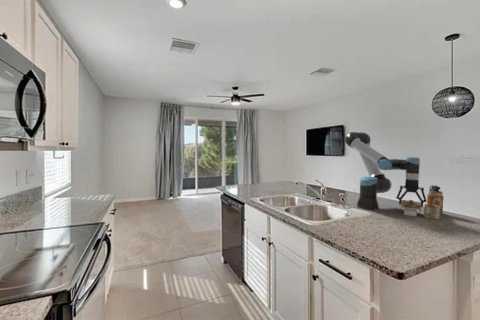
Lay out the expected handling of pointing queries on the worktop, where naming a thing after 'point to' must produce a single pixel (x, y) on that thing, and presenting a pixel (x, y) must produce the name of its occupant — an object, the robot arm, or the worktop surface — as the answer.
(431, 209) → the box
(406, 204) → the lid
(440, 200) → the canister
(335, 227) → the worktop surface
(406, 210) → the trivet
